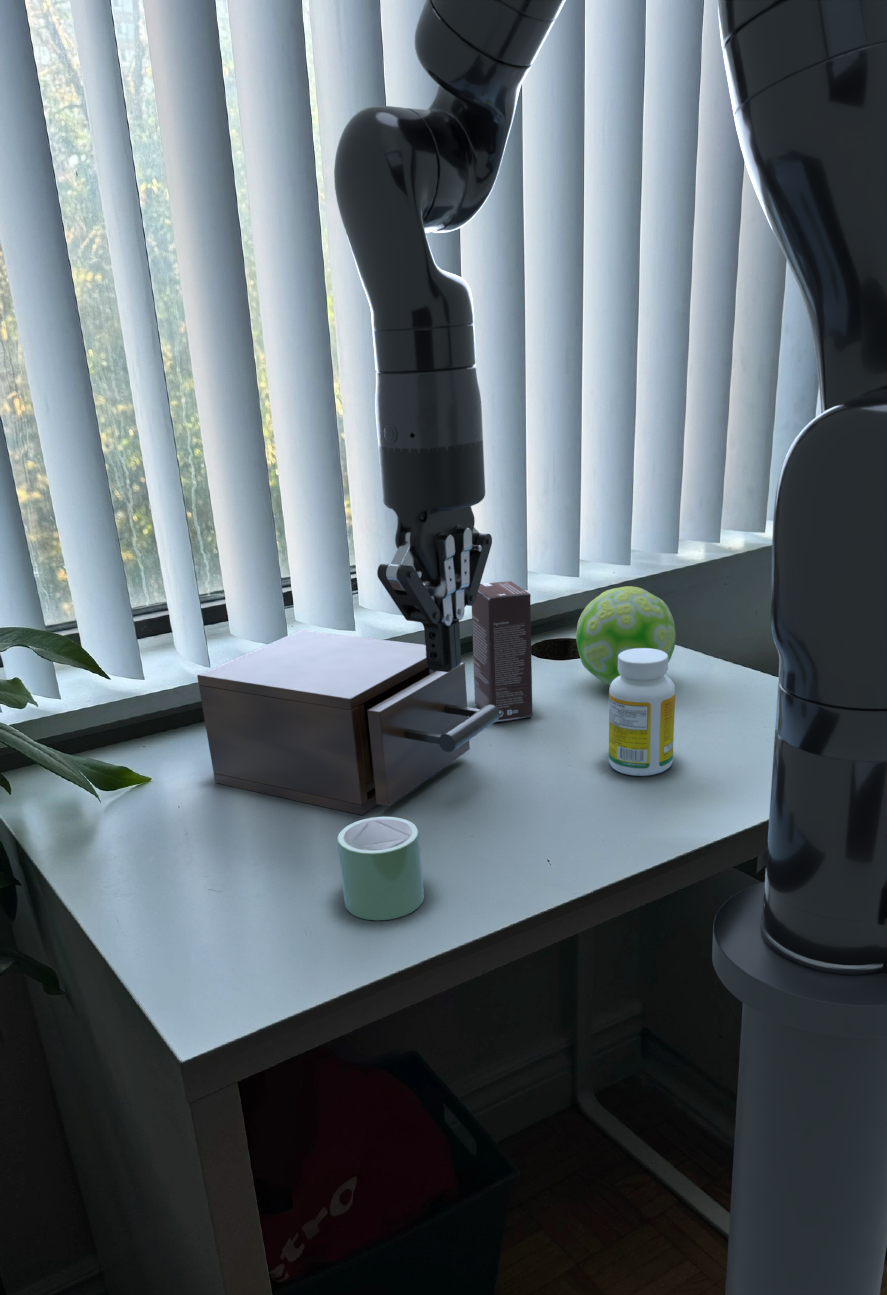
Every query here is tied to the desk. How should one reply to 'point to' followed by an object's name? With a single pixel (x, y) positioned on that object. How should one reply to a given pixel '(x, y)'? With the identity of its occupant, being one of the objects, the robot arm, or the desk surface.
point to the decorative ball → (622, 629)
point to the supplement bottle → (641, 713)
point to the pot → (381, 868)
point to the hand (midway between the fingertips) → (444, 667)
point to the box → (502, 649)
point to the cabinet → (301, 715)
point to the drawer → (417, 730)
